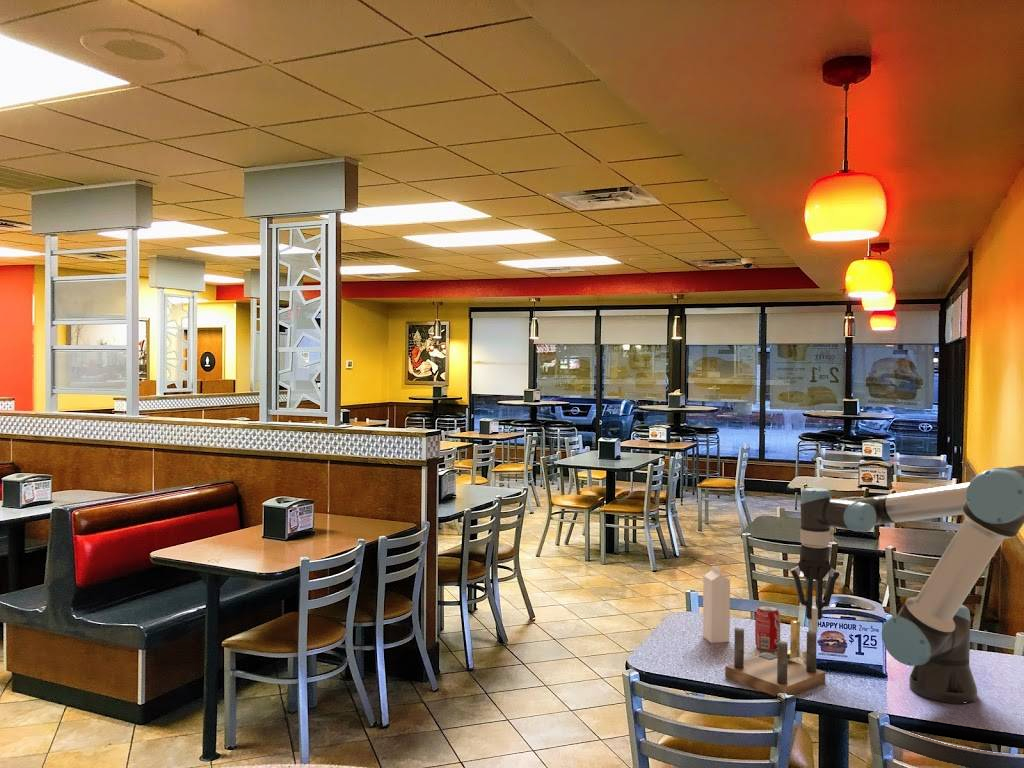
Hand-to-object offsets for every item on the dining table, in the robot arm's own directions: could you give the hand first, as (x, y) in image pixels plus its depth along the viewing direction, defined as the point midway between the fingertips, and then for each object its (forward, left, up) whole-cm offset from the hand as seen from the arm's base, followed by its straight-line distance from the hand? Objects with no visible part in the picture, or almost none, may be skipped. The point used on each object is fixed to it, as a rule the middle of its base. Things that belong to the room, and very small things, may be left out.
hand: (813, 630), depth 214 cm
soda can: (+17, -4, -11) cm, 21 cm away
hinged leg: (+3, +5, -7) cm, 9 cm away
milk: (+31, +2, -11) cm, 33 cm away
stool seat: (+1, +16, -11) cm, 19 cm away
